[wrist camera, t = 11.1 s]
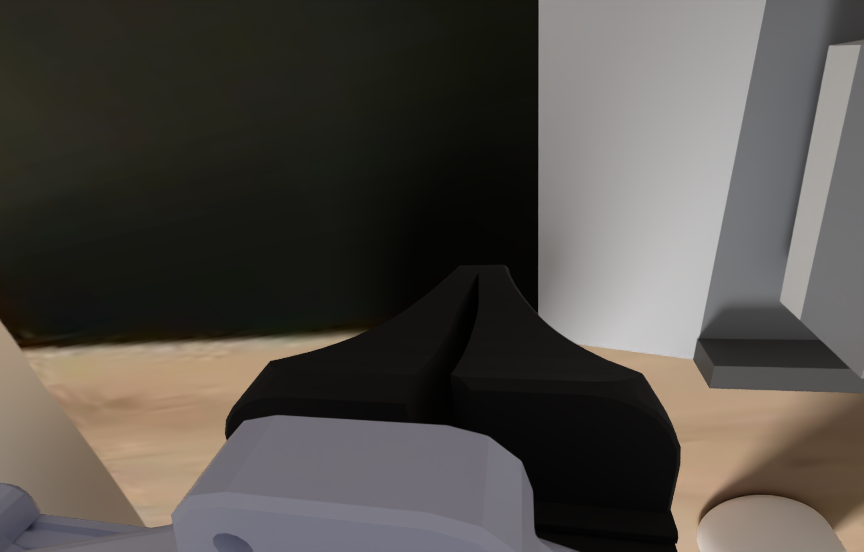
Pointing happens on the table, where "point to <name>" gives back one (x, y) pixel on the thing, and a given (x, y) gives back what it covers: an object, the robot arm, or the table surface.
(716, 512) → the water bottle
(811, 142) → the grey angled piece
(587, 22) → the dock
